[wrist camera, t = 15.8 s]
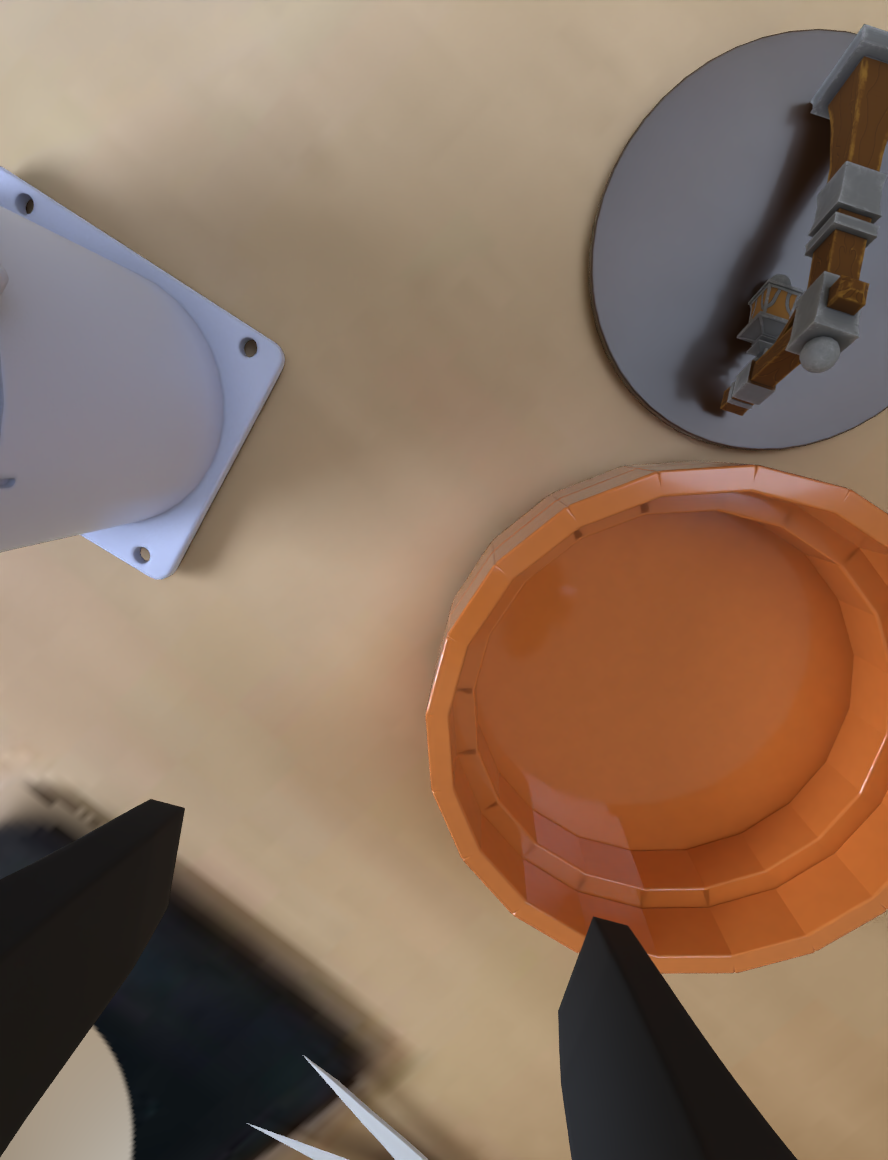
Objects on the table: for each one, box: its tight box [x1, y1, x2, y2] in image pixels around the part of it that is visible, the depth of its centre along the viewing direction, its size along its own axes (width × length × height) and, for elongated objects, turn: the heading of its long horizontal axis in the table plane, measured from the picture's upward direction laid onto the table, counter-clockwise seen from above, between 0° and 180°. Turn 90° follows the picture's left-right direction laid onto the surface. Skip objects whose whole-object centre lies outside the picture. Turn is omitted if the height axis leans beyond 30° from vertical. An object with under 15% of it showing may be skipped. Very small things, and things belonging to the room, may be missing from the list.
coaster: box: [589, 29, 888, 450], centre depth 16 cm, size 10×10×1 cm
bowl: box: [425, 461, 888, 974], centre depth 17 cm, size 14×14×4 cm
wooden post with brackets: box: [720, 24, 888, 416], centre depth 14 cm, size 2×8×4 cm, turn 162°
